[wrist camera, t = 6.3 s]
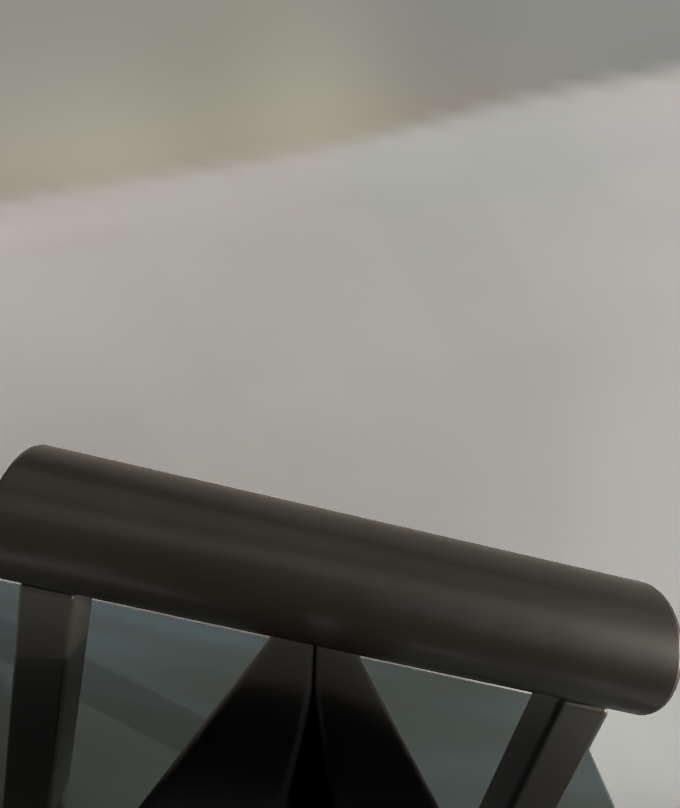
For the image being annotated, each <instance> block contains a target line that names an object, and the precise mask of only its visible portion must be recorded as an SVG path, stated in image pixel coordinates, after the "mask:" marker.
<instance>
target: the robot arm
mask: <svg viewBox="0 0 680 808" xmlns="http://www.w3.org/2000/svg"><path fill="white" fill-rule="evenodd" d="M138 808H440V807H439V805H438V804H437V802H436V800H435V798H434V796H433V794H432V792H431V790H430V788H429V787H428V785H427V783H426V781H425V779H424V777H423V775H422V773H421V771H420V769H419V768H418V766H417V764H416V762H415V760H414V758H413V756H412V754H411V752H410V751H409V749H408V747H407V745H406V743H405V741H404V739H403V737H402V735H401V734H400V732H399V730H398V728H397V726H396V724H395V722H394V720H393V718H392V716H391V715H390V713H389V711H388V709H387V707H386V705H385V703H384V701H383V699H382V698H381V696H380V694H379V692H378V690H377V688H376V686H375V684H374V682H373V680H372V679H371V677H370V675H369V673H368V671H367V669H366V667H365V665H364V663H363V662H362V660H361V658H360V656H359V655H356V654H351V653H346V652H342V651H337V650H332V649H328V648H323V647H318V646H314V645H309V644H304V643H300V642H295V641H290V640H286V639H281V638H276V637H272V636H270V637H269V638H268V639H267V641H266V642H265V643H264V645H263V646H262V647H261V649H260V650H259V651H258V652H257V654H256V655H255V656H254V658H253V659H252V660H251V662H250V663H249V664H248V666H247V667H246V668H245V669H244V671H243V672H242V673H241V675H240V676H239V677H238V679H237V680H236V681H235V682H234V684H233V685H232V686H231V688H230V689H229V690H228V692H227V693H226V694H225V695H224V697H223V698H222V699H221V701H220V702H219V703H218V705H217V706H216V707H215V708H214V710H213V711H212V712H211V714H210V715H209V716H208V718H207V719H206V720H205V721H204V723H203V724H202V725H201V727H200V728H199V729H198V731H197V732H196V733H195V734H194V736H193V737H192V738H191V740H190V741H189V742H188V744H187V745H186V746H185V748H184V749H183V750H182V751H181V753H180V754H179V755H178V757H177V758H176V759H175V761H174V762H173V763H172V764H171V766H170V767H169V768H168V770H167V771H166V772H165V774H164V775H163V776H162V777H161V779H160V780H159V781H158V783H157V784H156V785H155V787H154V788H153V789H152V790H151V792H150V793H149V794H148V796H147V797H146V798H145V800H144V801H143V802H142V803H141V805H140V806H139V807H138Z"/></svg>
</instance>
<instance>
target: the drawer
mask: <svg viewBox="0 0 680 808" xmlns="http://www.w3.org/2000/svg"><path fill="white" fill-rule="evenodd" d="M0 578H1V579H6V580H10V581H15V582H20V583H21V585H18V584H13V583H8V582H4V581H0V808H138V807H139V806H140V805H141V803H142V802H143V801H144V800H145V798H146V797H147V796H148V794H149V793H150V792H151V790H152V789H153V788H154V787H155V785H156V784H157V783H158V781H159V780H160V779H161V777H162V776H163V775H164V774H165V772H166V771H167V770H168V768H169V767H170V766H171V764H172V763H173V762H174V761H175V759H176V758H177V757H178V755H179V754H180V753H181V751H182V750H183V749H184V748H185V746H186V745H187V744H188V742H189V741H190V740H191V738H192V737H193V736H194V734H195V733H196V732H197V731H198V729H199V728H200V727H201V725H202V724H203V723H204V721H205V720H206V719H207V718H208V716H209V715H210V714H211V712H212V711H213V710H214V708H215V707H216V706H217V705H218V703H219V702H220V701H221V699H222V698H223V697H224V695H225V694H226V693H227V692H228V690H229V689H230V688H231V686H232V685H233V684H234V682H235V681H236V680H237V679H238V677H239V676H240V675H241V673H242V672H243V671H244V669H245V668H246V667H247V666H248V664H249V663H250V662H251V660H252V659H253V658H254V656H255V655H256V654H257V652H258V651H259V650H260V649H261V647H262V646H263V645H264V643H265V642H266V641H267V639H268V638H265V637H261V636H256V635H251V634H247V633H242V632H237V631H233V630H228V629H223V628H219V627H214V626H209V625H205V624H200V623H195V622H191V621H186V620H181V619H177V618H172V617H167V616H163V615H158V614H153V613H149V612H144V611H139V610H135V609H130V608H125V607H121V606H116V605H111V604H107V603H102V602H97V601H93V600H92V598H94V599H99V600H104V601H108V602H113V603H118V604H122V605H127V606H132V607H136V608H141V609H146V610H150V611H155V612H160V613H164V614H169V615H174V616H178V617H183V618H188V619H192V620H197V621H202V622H206V623H211V624H216V625H220V626H225V627H230V628H234V629H239V630H244V631H248V632H253V633H258V634H262V635H267V636H272V637H276V638H281V639H286V640H290V641H295V642H300V643H304V644H309V645H314V646H318V647H323V648H328V649H332V650H337V651H342V652H346V653H351V654H356V655H360V656H365V657H370V658H374V659H379V660H384V661H388V662H393V663H398V664H402V665H407V666H412V667H416V668H421V669H426V670H430V671H435V672H440V673H444V674H449V675H454V676H458V677H463V678H468V679H472V680H477V681H482V682H486V683H491V684H496V685H500V686H505V687H510V688H514V689H519V690H524V691H528V692H532V694H527V693H523V692H518V691H513V690H508V689H504V688H499V687H494V686H490V685H485V684H480V683H476V682H471V681H466V680H462V679H457V678H452V677H448V676H443V675H438V674H434V673H429V672H424V671H420V670H415V669H410V668H406V667H401V666H396V665H392V664H387V663H382V662H378V661H373V660H368V659H364V658H361V660H362V662H363V663H364V665H365V667H366V669H367V671H368V673H369V675H370V677H371V679H372V680H373V682H374V684H375V686H376V688H377V690H378V692H379V694H380V696H381V698H382V699H383V701H384V703H385V705H386V707H387V709H388V711H389V713H390V715H391V716H392V718H393V720H394V722H395V724H396V726H397V728H398V730H399V732H400V734H401V735H402V737H403V739H404V741H405V743H406V745H407V747H408V749H409V751H410V752H411V754H412V756H413V758H414V760H415V762H416V764H417V766H418V768H419V769H420V771H421V773H422V775H423V777H424V779H425V781H426V783H427V785H428V787H429V788H430V790H431V792H432V794H433V796H434V798H435V800H436V802H437V804H438V805H439V807H440V808H615V807H614V804H613V802H612V800H611V798H610V795H609V793H608V791H607V789H606V786H605V784H604V782H603V780H602V777H601V775H600V773H599V771H598V768H597V766H596V764H595V762H594V759H593V757H592V755H591V753H590V750H589V748H590V746H591V744H592V742H593V740H594V738H595V737H596V735H597V733H598V731H599V729H600V727H601V725H602V723H603V721H604V719H605V718H606V716H607V708H608V709H613V710H617V711H622V712H627V713H631V714H636V715H647V714H651V713H654V712H656V711H658V710H660V709H661V708H662V707H664V706H665V705H666V704H667V702H668V701H669V700H670V698H671V697H672V695H673V693H674V691H675V689H676V687H677V684H678V681H679V677H680V628H679V624H678V621H677V618H676V615H675V613H674V610H673V609H672V607H671V605H670V603H669V602H668V600H667V599H666V598H665V597H664V596H663V595H662V593H660V592H659V591H658V590H657V589H655V588H654V587H653V586H651V585H649V584H647V583H644V582H639V581H635V580H631V579H626V578H622V577H618V576H613V575H609V574H605V573H600V572H596V571H592V570H587V569H583V568H579V567H574V566H570V565H565V564H561V563H557V562H552V561H548V560H544V559H539V558H535V557H531V556H526V555H522V554H518V553H513V552H509V551H505V550H500V549H496V548H492V547H487V546H483V545H478V544H474V543H470V542H465V541H461V540H457V539H452V538H448V537H444V536H439V535H435V534H431V533H426V532H422V531H418V530H413V529H409V528H404V527H400V526H396V525H391V524H387V523H383V522H378V521H374V520H370V519H365V518H361V517H357V516H352V515H348V514H344V513H339V512H335V511H330V510H326V509H322V508H317V507H313V506H309V505H304V504H300V503H296V502H291V501H287V500H283V499H278V498H274V497H270V496H265V495H261V494H256V493H252V492H248V491H243V490H239V489H235V488H230V487H226V486H222V485H217V484H213V483H209V482H204V481H200V480H196V479H191V478H187V477H182V476H178V475H174V474H169V473H165V472H161V471H156V470H152V469H148V468H143V467H139V466H135V465H130V464H126V463H122V462H117V461H113V460H108V459H104V458H100V457H95V456H91V455H87V454H82V453H78V452H74V451H69V450H65V449H61V448H56V447H52V446H48V445H39V446H33V447H31V448H29V449H27V450H25V451H24V452H23V453H21V454H20V455H19V456H18V457H17V458H16V459H15V460H14V461H13V463H12V464H11V465H10V466H9V468H8V469H7V471H6V472H5V473H4V475H3V477H2V478H1V480H0Z"/></svg>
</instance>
